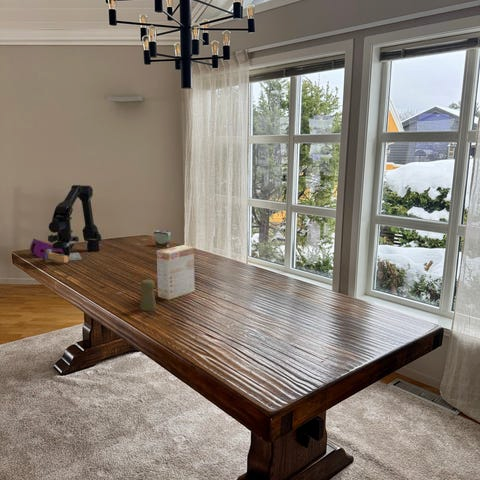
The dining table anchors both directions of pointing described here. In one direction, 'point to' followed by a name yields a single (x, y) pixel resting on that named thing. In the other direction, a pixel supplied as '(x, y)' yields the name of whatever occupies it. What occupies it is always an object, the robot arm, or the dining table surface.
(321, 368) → the dining table surface
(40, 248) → the mounting bracket
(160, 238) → the food container
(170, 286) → the coffeecake box
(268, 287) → the dining table surface
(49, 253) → the swing arm
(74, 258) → the chassis plate
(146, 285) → the olive green upright piece
